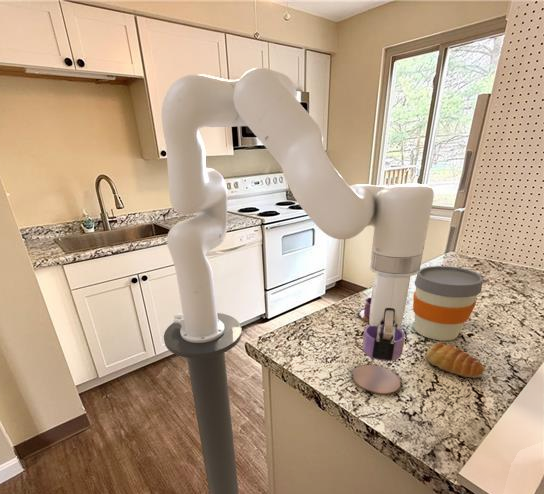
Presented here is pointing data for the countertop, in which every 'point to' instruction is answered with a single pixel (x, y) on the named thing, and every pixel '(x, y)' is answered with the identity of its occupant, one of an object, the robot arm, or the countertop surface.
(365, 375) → the near coaster
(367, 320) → the far coaster
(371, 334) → the lavender dish
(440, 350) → the pastry
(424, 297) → the reusable coffee cup
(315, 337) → the countertop surface
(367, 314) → the plum dish
